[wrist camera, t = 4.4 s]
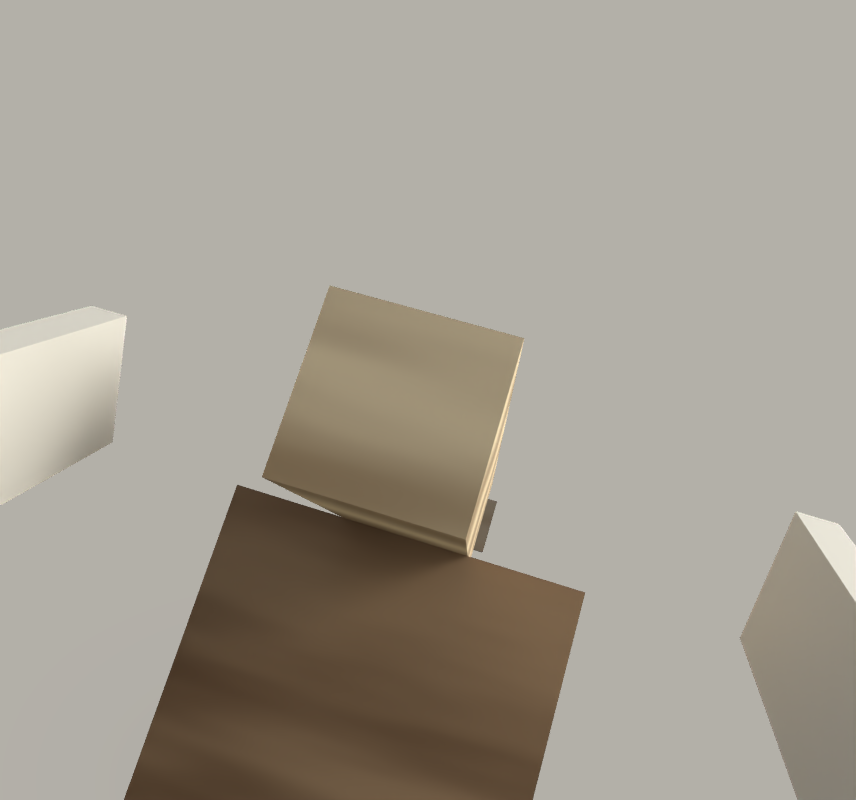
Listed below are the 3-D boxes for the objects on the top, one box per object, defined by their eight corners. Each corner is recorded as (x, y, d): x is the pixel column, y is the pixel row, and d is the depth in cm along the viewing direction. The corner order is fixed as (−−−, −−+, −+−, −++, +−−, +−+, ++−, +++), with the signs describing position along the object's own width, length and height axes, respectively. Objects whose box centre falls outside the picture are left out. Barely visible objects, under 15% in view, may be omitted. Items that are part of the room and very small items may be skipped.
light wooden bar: (489, 546, 12) (546, 344, 13) (240, 470, 13) (308, 279, 14) (477, 568, 33) (500, 488, 33) (380, 538, 33) (405, 459, 34)
